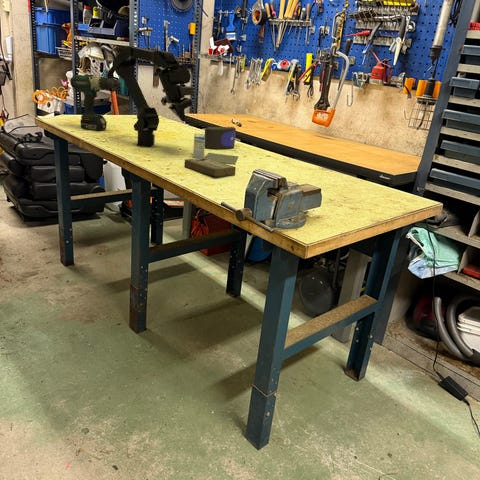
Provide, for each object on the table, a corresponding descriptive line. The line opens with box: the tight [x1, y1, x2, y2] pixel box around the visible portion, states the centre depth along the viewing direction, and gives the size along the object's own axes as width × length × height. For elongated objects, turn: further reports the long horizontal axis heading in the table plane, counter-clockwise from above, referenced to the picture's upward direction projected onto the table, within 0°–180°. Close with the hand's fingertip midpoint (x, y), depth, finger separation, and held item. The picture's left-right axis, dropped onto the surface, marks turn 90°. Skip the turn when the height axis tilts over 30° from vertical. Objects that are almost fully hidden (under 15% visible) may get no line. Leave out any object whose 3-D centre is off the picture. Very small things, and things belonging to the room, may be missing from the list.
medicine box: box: [192, 132, 205, 159], centre depth 176 cm, size 8×4×9 cm, turn 5°
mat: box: [204, 152, 239, 165], centre depth 178 cm, size 13×14×1 cm
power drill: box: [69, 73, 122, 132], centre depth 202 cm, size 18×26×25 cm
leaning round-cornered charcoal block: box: [204, 126, 237, 150], centre depth 194 cm, size 16×5×9 cm, turn 124°
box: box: [183, 157, 236, 178], centre depth 158 cm, size 11×17×3 cm, turn 45°
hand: (183, 121), depth 180 cm, fingers closed
